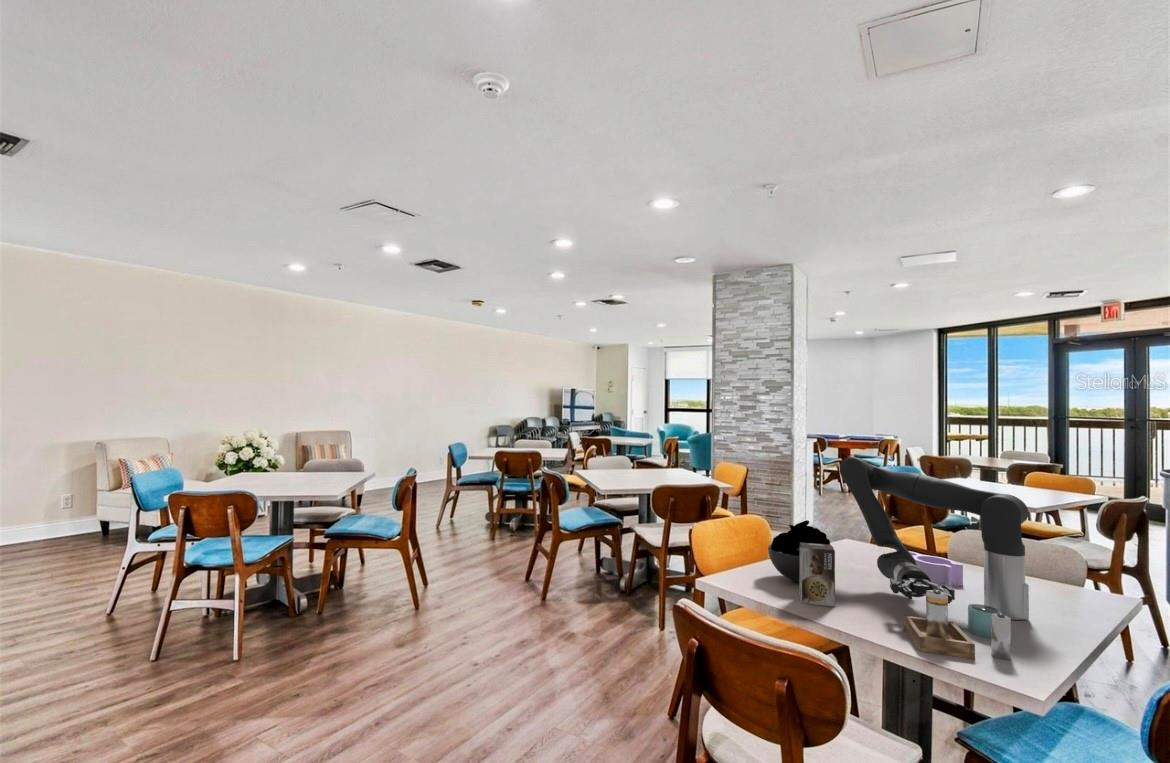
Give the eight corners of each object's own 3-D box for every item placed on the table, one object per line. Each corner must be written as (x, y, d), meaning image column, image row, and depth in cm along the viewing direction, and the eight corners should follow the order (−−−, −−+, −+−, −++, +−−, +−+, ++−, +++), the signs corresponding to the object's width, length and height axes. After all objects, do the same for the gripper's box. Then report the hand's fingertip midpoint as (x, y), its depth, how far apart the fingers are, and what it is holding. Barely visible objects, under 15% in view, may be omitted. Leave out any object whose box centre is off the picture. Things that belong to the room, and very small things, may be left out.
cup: (994, 629, 142) (994, 605, 142) (1006, 640, 135) (1006, 615, 135) (963, 625, 144) (963, 602, 144) (974, 635, 137) (974, 611, 137)
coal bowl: (803, 595, 164) (804, 531, 165) (754, 575, 182) (755, 518, 183) (847, 586, 173) (848, 527, 174) (796, 569, 191) (797, 515, 192)
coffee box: (831, 600, 160) (832, 544, 161) (835, 607, 154) (836, 549, 155) (798, 596, 163) (799, 541, 164) (800, 603, 157) (801, 546, 157)
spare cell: (1006, 654, 127) (1006, 612, 127) (1013, 661, 123) (1013, 617, 124) (988, 651, 128) (988, 610, 128) (995, 658, 124) (995, 615, 125)
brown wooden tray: (953, 635, 137) (953, 621, 137) (974, 659, 124) (974, 644, 124) (903, 628, 140) (904, 615, 141) (919, 651, 127) (919, 636, 127)
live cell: (944, 637, 134) (944, 589, 134) (950, 644, 129) (950, 594, 130) (923, 634, 135) (923, 586, 136) (929, 641, 131) (929, 592, 131)
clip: (886, 572, 192) (886, 552, 192) (907, 568, 198) (907, 549, 198) (946, 590, 174) (946, 568, 174) (967, 585, 180) (967, 564, 180)
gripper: (883, 562, 157) (898, 579, 141) (940, 568, 153) (961, 585, 137) (883, 589, 156) (898, 608, 141) (940, 595, 152) (962, 616, 137)
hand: (929, 597), depth 139 cm, fingers open, 8 cm apart
